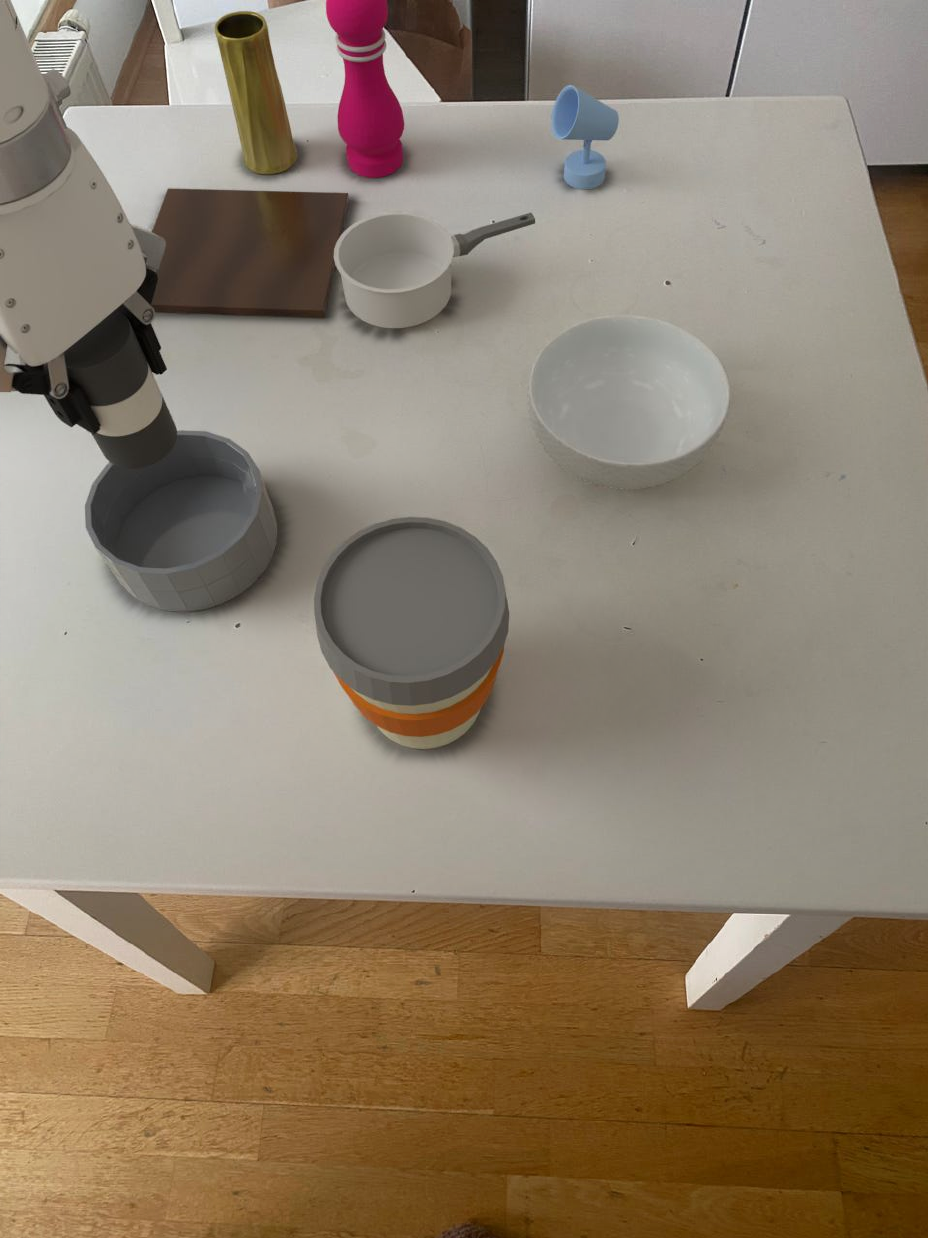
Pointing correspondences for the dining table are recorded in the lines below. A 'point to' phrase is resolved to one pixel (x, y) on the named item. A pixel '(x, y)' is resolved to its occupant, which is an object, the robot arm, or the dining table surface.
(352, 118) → the pepper mill
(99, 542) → the grey pet bowl
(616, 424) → the cereal bowl
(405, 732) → the reusable coffee cup
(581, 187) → the spotlight
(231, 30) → the vase
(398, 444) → the dining table surface
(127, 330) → the dark grey banded canister
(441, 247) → the saucepan
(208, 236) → the board
